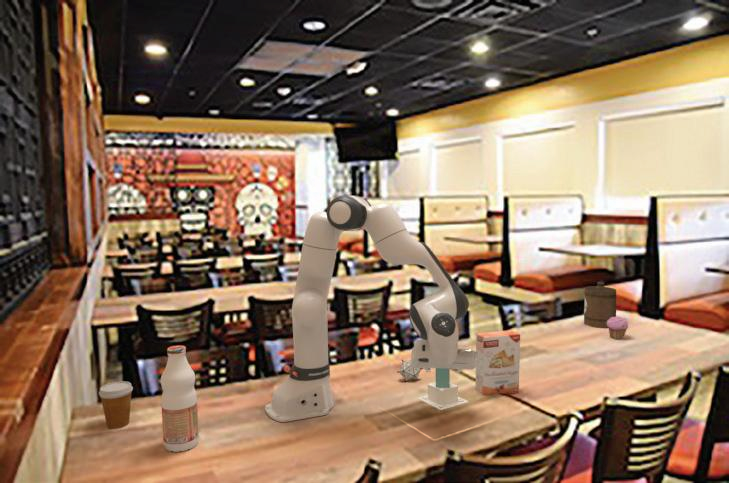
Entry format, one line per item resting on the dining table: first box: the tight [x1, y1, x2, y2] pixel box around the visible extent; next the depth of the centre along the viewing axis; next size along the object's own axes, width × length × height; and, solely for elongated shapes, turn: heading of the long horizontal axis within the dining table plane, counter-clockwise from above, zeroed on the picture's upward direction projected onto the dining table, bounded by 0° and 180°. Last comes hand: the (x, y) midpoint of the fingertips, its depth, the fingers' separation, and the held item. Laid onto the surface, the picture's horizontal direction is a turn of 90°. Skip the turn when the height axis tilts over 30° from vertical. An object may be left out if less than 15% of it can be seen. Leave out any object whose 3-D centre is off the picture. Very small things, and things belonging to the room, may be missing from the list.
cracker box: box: [475, 329, 521, 396], centre depth 187 cm, size 14×6×21 cm, turn 105°
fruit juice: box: [160, 345, 200, 453], centre depth 152 cm, size 9×9×28 cm
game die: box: [396, 359, 424, 383], centre depth 200 cm, size 9×8×10 cm
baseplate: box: [417, 394, 470, 411], centre depth 180 cm, size 12×12×1 cm
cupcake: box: [607, 316, 629, 340], centre depth 250 cm, size 9×9×10 cm
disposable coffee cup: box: [98, 381, 134, 429], centre depth 167 cm, size 10×10×12 cm
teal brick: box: [435, 368, 451, 388], centre depth 179 cm, size 4×4×8 cm
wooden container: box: [583, 280, 617, 329], centre depth 274 cm, size 15×15×22 cm
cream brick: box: [427, 381, 459, 405], centre depth 180 cm, size 7×7×5 cm
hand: (442, 370), depth 176 cm, fingers open, 8 cm apart
